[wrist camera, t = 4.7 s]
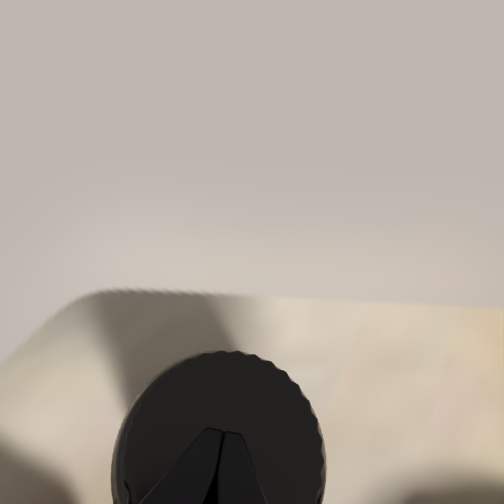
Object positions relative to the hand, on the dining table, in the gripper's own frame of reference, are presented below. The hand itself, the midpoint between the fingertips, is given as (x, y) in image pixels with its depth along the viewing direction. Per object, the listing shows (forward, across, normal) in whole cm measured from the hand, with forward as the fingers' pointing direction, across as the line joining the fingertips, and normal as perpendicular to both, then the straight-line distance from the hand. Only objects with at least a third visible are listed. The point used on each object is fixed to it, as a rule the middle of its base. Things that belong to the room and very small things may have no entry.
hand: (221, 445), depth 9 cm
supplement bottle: (+8, 0, +9) cm, 12 cm away
